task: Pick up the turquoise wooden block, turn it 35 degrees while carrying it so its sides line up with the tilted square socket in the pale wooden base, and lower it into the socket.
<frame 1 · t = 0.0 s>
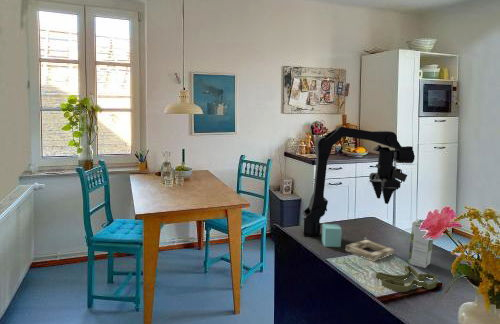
hand: (382, 201, 151), 15 cm above the countertop, tool pointing down, fingers open, 9 cm apart
socket base: (369, 252, 134), on the countertop
turquoise block: (330, 244, 142), on the countertop
cookie cutter: (406, 283, 111), on the countertop
syrup box: (419, 264, 125), on the countertop
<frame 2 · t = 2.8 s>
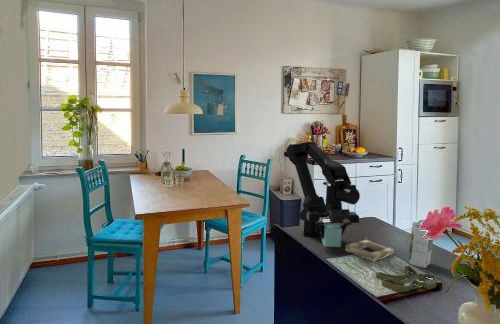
hand: (331, 238, 142), 2 cm above the countertop, tool pointing down, fingers closed on turquoise block, 6 cm apart
turquoise block: (330, 243, 142), on the countertop, touching gripper
everything else where it was.
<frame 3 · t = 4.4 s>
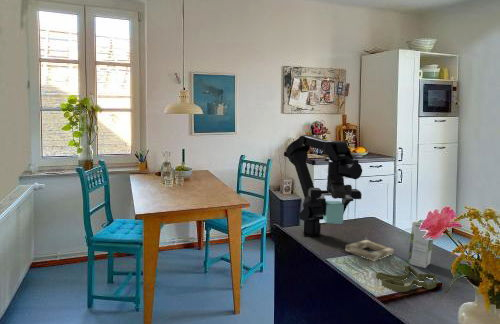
hand: (333, 215, 140), 11 cm above the countertop, tool pointing down, fingers closed on turquoise block, 6 cm apart
turquoise block: (332, 221, 141), point 9 cm above the countertop, touching gripper
everything else where it was.
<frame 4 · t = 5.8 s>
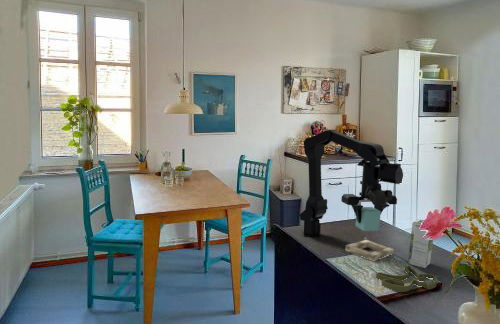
hand: (367, 222, 134), 11 cm above the countertop, tool pointing down, fingers closed on turquoise block, 6 cm apart
turquoise block: (367, 228, 134), point 9 cm above the countertop, touching gripper
everything else where it was.
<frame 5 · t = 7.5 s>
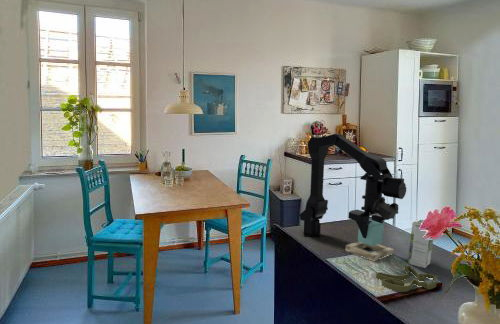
hand: (370, 236, 133), 6 cm above the countertop, tool pointing down, fingers closed on turquoise block, 6 cm apart
turquoise block: (369, 241, 134), point 4 cm above the countertop, touching gripper
everything else where it was.
when the fingers open (3 cm above the countertop, at t = 9.0 s): turquoise block drops 1 cm, resting in socket base.
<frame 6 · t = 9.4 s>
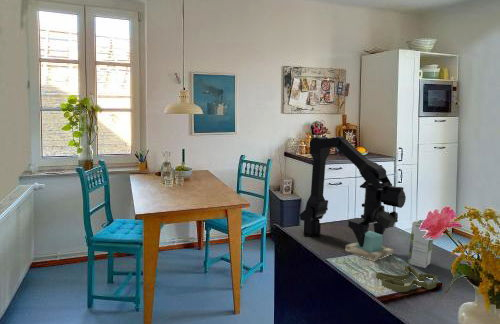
hand: (369, 244, 134), 3 cm above the countertop, tool pointing down, fingers open, 9 cm apart
turquoise block: (369, 252, 134), resting in socket base
everything else where it was.
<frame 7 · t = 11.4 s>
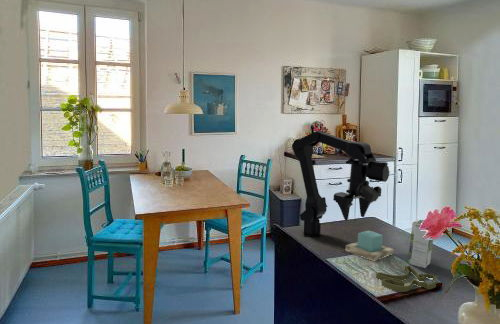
hand: (354, 218, 139), 11 cm above the countertop, tool pointing down, fingers open, 9 cm apart
nothing on the countertop moved.
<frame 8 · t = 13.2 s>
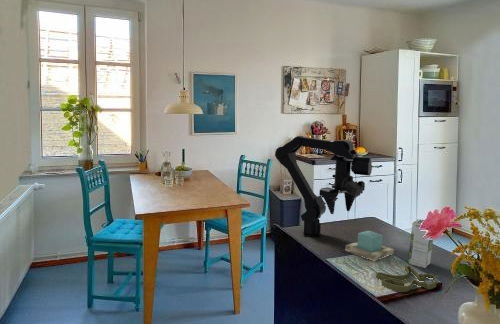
hand: (340, 212, 146), 11 cm above the countertop, tool pointing down, fingers open, 9 cm apart
nothing on the countertop moved.
at the end: turquoise block 0.0 cm off-centre on the socket base, point 0.0 cm above the socket base's base; turquoise block tilted 0°; the gripper is holding nothing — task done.
